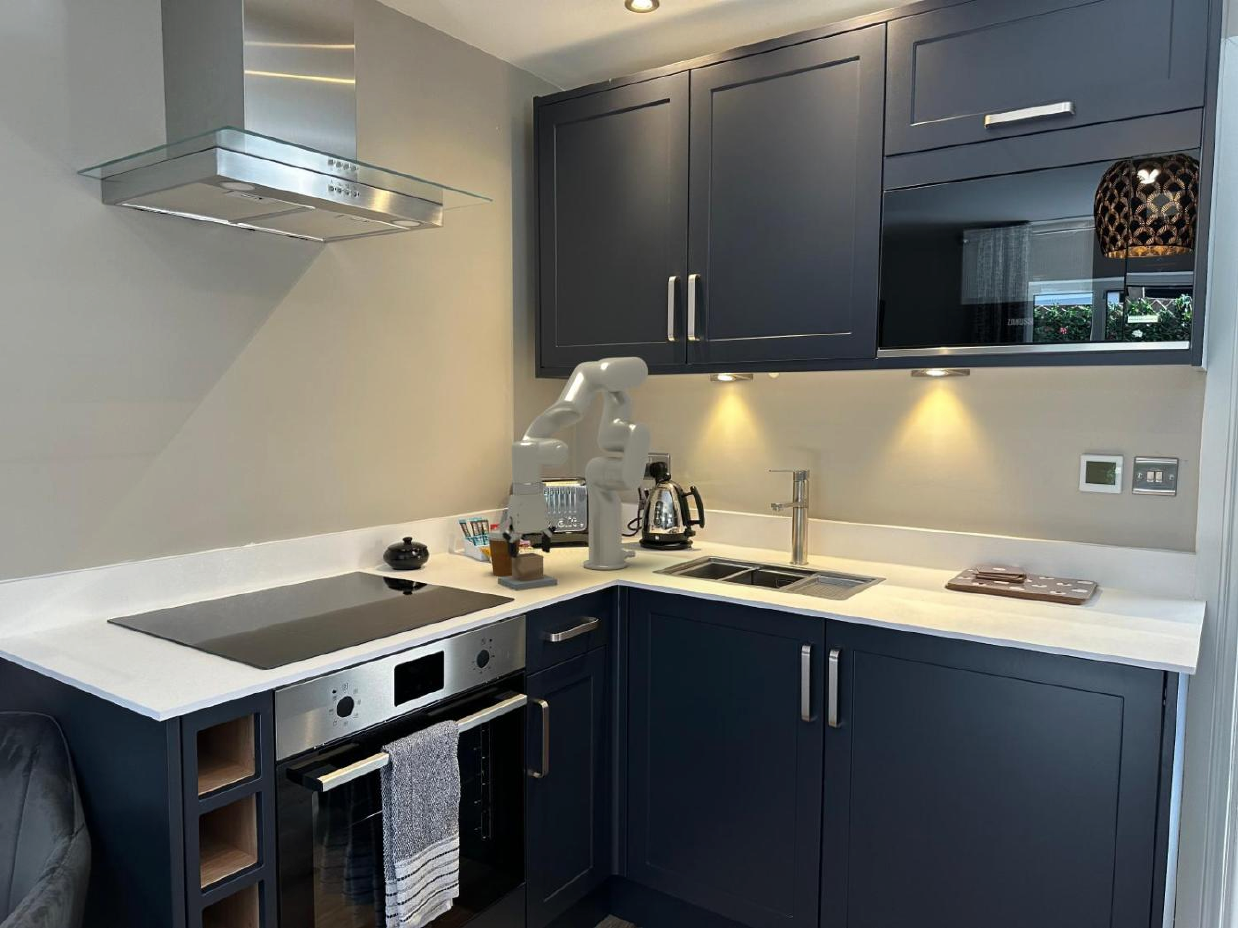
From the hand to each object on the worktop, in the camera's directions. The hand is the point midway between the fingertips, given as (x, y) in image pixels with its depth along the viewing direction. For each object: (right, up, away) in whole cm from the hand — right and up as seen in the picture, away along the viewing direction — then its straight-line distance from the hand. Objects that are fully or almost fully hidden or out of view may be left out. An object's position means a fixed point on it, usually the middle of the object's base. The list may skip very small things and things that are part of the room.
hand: (529, 554), depth 217 cm
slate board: (-1, -8, 0) cm, 8 cm away
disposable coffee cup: (-8, -7, +13) cm, 17 cm away
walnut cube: (-1, -6, 0) cm, 6 cm away
